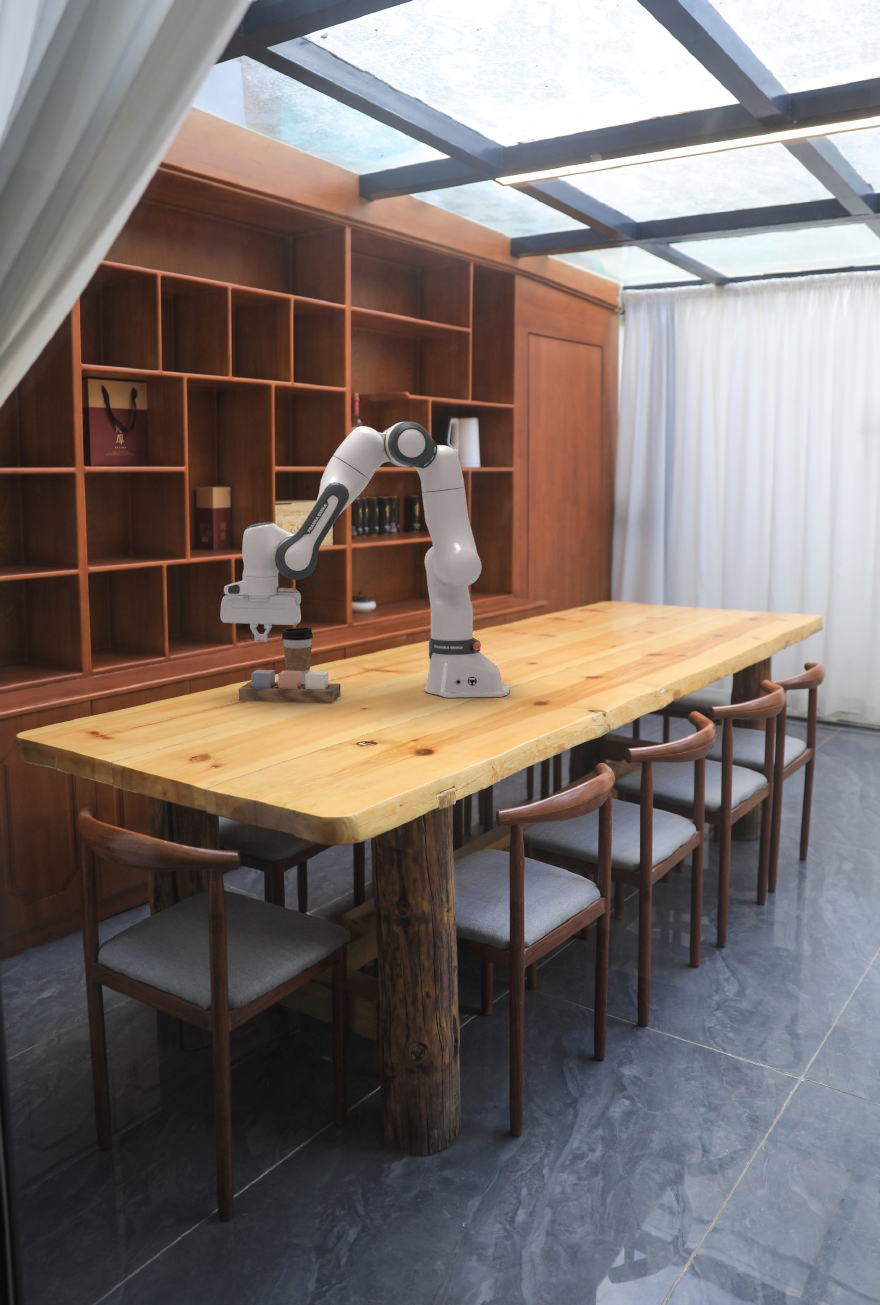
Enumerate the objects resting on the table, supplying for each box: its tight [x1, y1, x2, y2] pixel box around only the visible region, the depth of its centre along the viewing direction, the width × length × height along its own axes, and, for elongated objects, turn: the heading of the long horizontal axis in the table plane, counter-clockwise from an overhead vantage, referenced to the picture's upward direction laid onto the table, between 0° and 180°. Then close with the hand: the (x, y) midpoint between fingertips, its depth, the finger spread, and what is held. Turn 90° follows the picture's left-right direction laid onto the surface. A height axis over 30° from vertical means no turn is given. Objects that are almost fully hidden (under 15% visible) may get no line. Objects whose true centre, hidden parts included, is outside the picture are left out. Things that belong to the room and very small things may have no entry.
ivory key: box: [305, 670, 329, 690], centre depth 259 cm, size 5×5×4 cm
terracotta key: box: [277, 669, 302, 689], centre depth 260 cm, size 5×5×4 cm
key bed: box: [238, 680, 341, 704], centre depth 260 cm, size 24×10×3 cm, turn 84°
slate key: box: [250, 669, 276, 688], centre depth 261 cm, size 5×5×4 cm
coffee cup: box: [281, 627, 314, 683], centre depth 279 cm, size 8×8×15 cm
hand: (261, 641), depth 259 cm, fingers closed
